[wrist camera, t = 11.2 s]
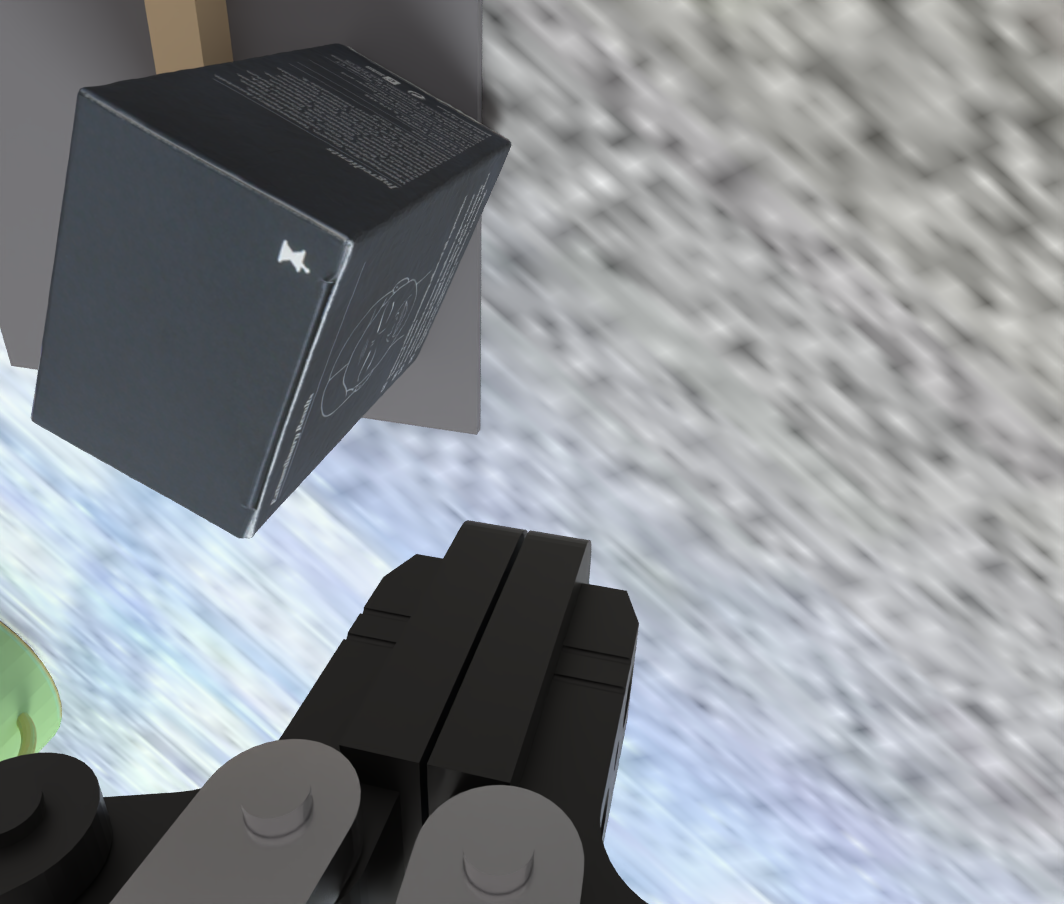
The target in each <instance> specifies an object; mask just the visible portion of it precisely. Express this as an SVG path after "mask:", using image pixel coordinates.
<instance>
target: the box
mask: <svg viewBox="0 0 1064 904" xmlns="http://www.w3.org/2000/svg"><path fill="white" fill-rule="evenodd" d="M510 147H511V142H510V141H509V139H507V138H505V137H504V136H502V135H500V134H499V133H497V132H495V131H493V130H491V129H489V128H488V127H486V126H485V125H483V124H481V123H479V122H478V121H476V120H475V119H473V118H472V117H470V116H468V115H466V114H464V113H463V112H461V111H460V110H457V109H455V108H454V107H452V106H451V105H450V104H447V103H445V102H443V101H441V100H439V99H437V98H436V97H434V96H432V95H430V94H429V93H427V92H425V91H424V90H422V89H420V88H419V87H417V86H415V85H414V84H412V83H410V82H408V81H407V80H405V79H403V78H401V77H399V76H398V75H396V74H394V73H392V72H390V71H389V70H387V69H385V68H383V67H382V66H380V65H378V64H377V63H375V62H373V61H371V60H370V59H368V58H366V57H365V56H363V55H361V54H359V53H358V52H356V51H355V50H353V49H352V48H350V47H348V46H345V45H342V44H338V43H334V44H329V45H323V46H317V47H313V48H306V49H300V50H293V51H289V52H281V53H276V54H273V55H265V56H261V57H254V58H248V59H244V60H239V61H233V62H226V63H221V64H214V65H208V66H203V67H198V68H193V69H184V70H178V71H175V72H166V73H161V74H157V75H152V76H148V77H143V78H138V79H129V80H122V81H117V82H114V83H111V84H107V85H101V86H91V87H83V88H80V90H79V92H78V94H77V100H76V108H75V115H74V123H73V130H72V137H71V144H70V154H69V160H68V166H67V172H66V179H65V187H64V194H63V200H62V207H61V214H60V221H59V228H58V235H57V242H56V250H55V257H54V264H53V271H52V277H51V284H50V290H49V298H48V307H47V313H46V319H45V326H44V334H43V339H42V347H41V355H40V361H39V367H38V375H37V382H36V389H35V394H34V400H33V407H32V413H31V419H32V421H33V422H34V423H36V424H38V425H39V426H41V427H43V428H44V429H46V430H48V431H50V432H52V433H53V434H55V435H57V436H59V437H60V438H62V439H64V440H65V441H67V442H69V443H71V444H72V445H74V446H76V447H78V448H79V449H81V450H83V451H85V452H87V453H89V454H91V455H92V456H94V457H96V458H97V459H99V460H101V461H102V462H104V463H106V464H108V465H110V466H112V467H114V468H115V469H117V470H119V471H121V472H122V473H124V474H126V475H128V476H129V477H131V478H133V479H135V480H137V481H138V482H140V483H142V484H144V485H146V486H147V487H149V488H151V489H153V490H155V491H156V492H158V493H160V494H162V495H164V496H166V497H167V498H169V499H171V500H173V501H175V502H176V503H178V504H180V505H182V506H183V507H185V508H187V509H189V510H190V511H192V512H194V513H195V514H197V515H199V516H201V517H203V518H205V519H206V520H208V521H209V522H211V523H213V524H215V525H217V526H219V527H220V528H222V529H224V530H225V531H227V532H229V533H231V534H232V535H234V536H236V537H238V538H252V537H253V536H254V534H255V533H256V532H257V531H258V529H259V528H260V527H261V526H262V525H263V524H264V523H265V522H266V521H267V519H268V518H269V517H270V516H271V515H272V514H273V513H274V512H275V511H276V510H277V508H278V507H279V506H280V505H281V504H282V503H283V502H284V501H285V500H286V499H287V498H288V497H289V496H290V494H291V493H292V492H293V491H294V490H295V489H296V488H297V487H298V486H299V485H300V484H301V483H302V481H303V480H304V479H305V478H306V477H307V476H308V475H309V474H310V473H311V472H312V471H313V470H314V469H315V468H316V466H317V465H318V464H319V463H320V462H321V461H322V460H323V459H324V457H325V456H326V455H327V454H328V453H329V452H330V451H331V450H332V449H333V448H334V447H335V446H336V445H337V444H338V443H339V442H340V441H341V439H342V438H343V437H344V436H345V435H346V434H347V433H348V432H349V431H350V430H351V428H352V427H353V426H354V425H355V424H356V423H357V422H358V420H359V419H360V418H361V417H362V416H363V415H364V414H365V413H366V412H367V411H368V410H369V409H370V408H371V407H372V406H373V405H374V404H375V403H376V402H377V400H378V399H379V398H380V397H381V396H383V394H384V393H385V392H386V391H387V390H388V389H389V388H390V387H391V386H392V384H393V383H394V382H395V381H396V380H397V379H398V378H399V377H400V376H401V375H402V374H403V373H404V372H405V371H406V369H408V368H409V367H410V366H411V364H412V363H413V362H414V361H415V360H416V358H417V357H418V355H419V353H420V351H421V348H422V346H423V344H424V342H425V340H426V338H427V336H428V333H429V330H430V328H431V326H432V324H433V322H434V320H435V317H436V315H437V313H438V311H439V309H440V306H441V304H442V302H443V300H444V298H445V295H446V293H447V290H448V288H449V286H450V284H451V282H452V279H453V277H454V275H455V273H456V271H457V268H458V266H459V263H460V261H461V259H462V257H463V255H464V253H465V250H466V248H467V246H468V244H469V241H470V239H471V237H472V235H473V232H474V230H475V228H476V225H477V223H478V221H479V219H480V216H481V214H482V212H483V209H484V207H485V205H486V203H487V201H488V198H489V196H490V193H491V191H492V189H493V187H494V184H495V182H496V180H497V178H498V176H499V174H500V171H501V169H502V167H503V164H504V162H505V159H506V157H507V155H508V152H509V150H510Z"/></svg>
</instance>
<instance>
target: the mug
mask: <svg viewBox="0 0 1064 904" xmlns="http://www.w3.org/2000/svg"><path fill="white" fill-rule="evenodd" d="M61 718H62V710H61V702H60V698H59V694H58V691H57V688H56V686H55V684H54V682H53V680H52V677H51V676H50V674H49V673H48V671H47V669H46V668H45V666H44V665H43V663H42V662H41V661H40V659H39V658H38V657H37V656H36V654H35V653H34V652H33V651H32V650H31V648H30V647H29V646H28V645H27V644H26V643H25V642H24V641H23V640H22V639H21V638H20V637H18V636H17V635H16V634H15V633H14V632H13V631H12V630H10V629H9V628H8V627H7V626H5V625H4V624H3V623H2V622H0V761H3V760H5V759H9V758H13V757H16V756H20V755H26V754H33V753H38V752H39V751H40V750H41V749H42V748H43V747H44V746H45V745H46V744H47V743H48V742H49V741H50V740H51V738H52V737H53V736H54V735H55V733H56V732H57V730H58V728H59V727H60V722H61Z"/></svg>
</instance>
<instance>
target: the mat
mask: <svg viewBox="0 0 1064 904" xmlns="http://www.w3.org/2000/svg"><path fill="white" fill-rule="evenodd" d="M334 43H338V44H342V45H345V46H348V47H350V48H352V49H353V50H355V51H356V52H358V53H359V54H361V55H363V56H365V57H366V58H368V59H370V60H371V61H373V62H375V63H377V64H378V65H380V66H382V67H383V68H385V69H387V70H389V71H390V72H392V73H394V74H396V75H398V76H399V77H401V78H403V79H405V80H407V81H408V82H410V83H412V84H414V85H415V86H417V87H419V88H420V89H422V90H424V91H425V92H427V93H429V94H430V95H432V96H434V97H436V98H437V99H439V100H441V101H443V102H445V103H447V104H450V105H451V106H452V107H454V108H455V109H457V110H460V111H461V112H463V113H464V114H466V115H468V116H470V117H472V118H473V119H475V120H476V121H478V122H479V123H481V124H482V0H0V328H1V332H2V335H3V338H4V342H5V345H6V349H7V352H8V356H9V359H10V363H11V366H17V367H24V368H30V369H37V370H38V367H39V361H40V355H41V347H42V339H43V334H44V326H45V319H46V313H47V307H48V298H49V290H50V284H51V277H52V271H53V264H54V257H55V250H56V242H57V235H58V228H59V221H60V214H61V207H62V200H63V194H64V187H65V179H66V172H67V166H68V160H69V154H70V144H71V137H72V130H73V123H74V115H75V108H76V100H77V94H78V92H79V90H80V88H83V87H91V86H101V85H107V84H111V83H114V82H117V81H122V80H129V79H138V78H143V77H148V76H152V75H157V74H161V73H166V72H175V71H178V70H184V69H193V68H198V67H203V66H208V65H214V64H221V63H226V62H233V61H239V60H244V59H248V58H254V57H261V56H265V55H273V54H276V53H281V52H289V51H293V50H300V49H306V48H313V47H317V46H323V45H329V44H334ZM480 387H481V216H480V219H479V221H478V223H477V225H476V228H475V230H474V232H473V235H472V237H471V239H470V241H469V244H468V246H467V248H466V250H465V253H464V255H463V257H462V259H461V261H460V263H459V266H458V268H457V271H456V273H455V275H454V277H453V279H452V282H451V284H450V286H449V288H448V290H447V293H446V295H445V298H444V300H443V302H442V304H441V306H440V309H439V311H438V313H437V315H436V317H435V320H434V322H433V324H432V326H431V328H430V330H429V333H428V336H427V338H426V340H425V342H424V344H423V346H422V348H421V351H420V353H419V355H418V357H417V358H416V360H415V361H414V362H413V363H412V364H411V366H410V367H409V368H408V369H406V371H405V372H404V373H403V374H402V375H401V376H400V377H399V378H398V379H397V380H396V381H395V382H394V383H393V384H392V386H391V387H390V388H389V389H388V390H387V391H386V392H385V393H384V394H383V396H381V397H380V398H379V399H378V400H377V402H376V403H375V404H374V405H373V406H372V407H371V408H370V409H369V410H368V411H367V412H366V413H365V414H364V415H363V416H362V417H361V418H368V419H375V420H381V421H388V422H395V423H402V424H408V425H415V426H422V427H429V428H435V429H442V430H449V431H456V432H462V433H469V434H476V435H477V434H478V432H479V430H480Z"/></svg>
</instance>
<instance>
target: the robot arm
mask: <svg viewBox="0 0 1064 904" xmlns="http://www.w3.org/2000/svg"><path fill="white" fill-rule="evenodd" d="M590 562H591V541H590V540H584V539H578V538H572V537H566V536H560V535H554V534H548V533H542V532H536V531H529V532H527V530H523V529H517V528H511V527H505V526H499V525H493V524H487V523H481V522H475V521H469V520H467V521H465V522H464V523H463V525H462V526H461V528H460V529H459V531H458V533H457V535H456V537H455V538H454V540H453V542H452V544H451V546H450V547H449V549H448V551H447V553H446V555H445V556H444V558H443V559H442V558H436V557H430V556H425V555H419V554H416V555H414V556H413V557H411V558H410V559H409V560H407V561H406V562H404V563H403V564H401V565H400V566H399V567H397V568H396V569H394V570H393V571H391V572H390V573H389V574H387V575H386V576H384V577H383V578H382V580H381V582H380V583H379V585H378V586H377V588H376V589H375V591H374V592H373V594H372V596H371V597H370V599H369V600H368V602H367V603H366V605H365V607H364V611H363V614H359V616H358V617H357V619H356V621H355V622H354V624H353V625H352V627H351V628H350V630H349V632H348V636H347V639H346V640H345V639H343V641H342V642H341V644H340V646H339V647H338V649H337V650H336V652H335V653H334V655H333V657H332V658H331V660H330V661H329V663H328V664H327V666H326V667H325V669H324V671H323V672H322V674H321V675H320V677H319V678H318V680H317V682H316V683H315V685H314V686H313V688H312V689H311V691H310V692H309V694H308V696H307V697H306V699H305V700H304V702H303V703H302V705H301V706H300V708H299V710H298V711H297V713H296V714H295V716H294V717H293V719H292V721H291V722H290V724H289V725H288V727H287V728H286V730H285V731H284V733H283V735H282V736H281V737H280V739H279V740H278V741H273V742H268V743H264V744H261V745H258V746H255V747H253V748H251V749H248V750H246V751H244V752H242V753H240V754H238V755H237V756H235V757H234V758H232V759H231V760H229V761H228V762H226V763H225V764H224V765H223V766H222V767H220V768H219V769H218V770H217V771H216V772H215V773H214V774H213V775H212V776H211V777H210V778H209V780H208V781H207V782H206V783H205V784H204V786H203V787H202V788H201V789H196V790H191V791H184V792H174V793H159V794H145V795H130V796H115V797H103V795H102V792H101V789H100V786H99V783H98V780H97V777H96V776H95V774H94V772H93V771H92V769H91V768H90V767H88V766H87V765H86V764H85V763H84V762H82V761H80V760H78V759H77V758H75V757H71V756H68V755H65V754H58V753H33V754H26V755H20V756H16V757H13V758H9V759H5V760H3V761H0V904H648V903H646V902H645V901H644V900H642V899H641V898H640V897H639V896H638V895H637V894H635V893H634V892H633V891H632V890H631V889H630V888H629V887H628V886H627V885H626V883H625V882H624V881H623V880H622V879H621V877H620V876H619V875H618V873H617V872H616V870H615V868H614V867H613V865H612V864H611V862H610V860H609V857H608V855H607V853H606V850H605V848H604V844H603V842H604V837H605V832H606V827H607V822H608V816H609V811H610V806H611V801H612V796H613V789H614V785H615V780H616V775H617V770H618V765H619V758H620V754H621V749H622V744H623V739H624V734H625V728H626V723H627V717H628V709H629V701H630V692H631V684H632V676H633V668H634V660H635V652H636V644H637V635H638V627H639V622H638V620H637V617H636V614H635V612H634V609H633V606H632V604H631V601H630V598H629V596H628V593H627V591H624V590H619V589H613V588H607V587H602V586H596V585H590V584H589V574H590Z"/></svg>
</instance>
